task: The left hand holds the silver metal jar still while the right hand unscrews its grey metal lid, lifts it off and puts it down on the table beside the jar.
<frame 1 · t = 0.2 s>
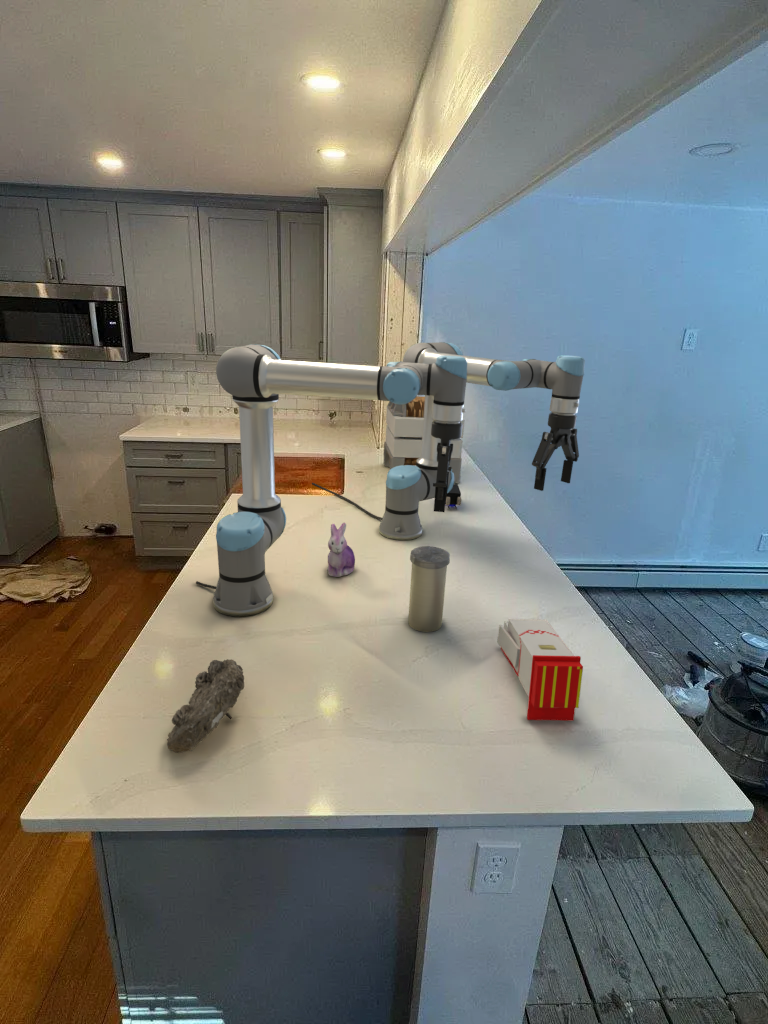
left hand: (440, 502, 147), 28 cm above the counter, tool pointing down, fingers open, 13 cm apart
right hand: (552, 485, 166), 28 cm above the counter, tool pointing down, fingers open, 13 cm apart
toy: (530, 678, 124), on the counter
fossil: (212, 717, 108), on the counter
jar: (424, 623, 144), on the counter
white wooden box: (419, 473, 275), on the counter
figurine: (340, 571, 170), on the counter
figurine character: (451, 505, 231), on the counter
feather: (271, 520, 207), on the counter
lid: (430, 555, 137), point 19 cm above the counter, screwed on, not yet turned
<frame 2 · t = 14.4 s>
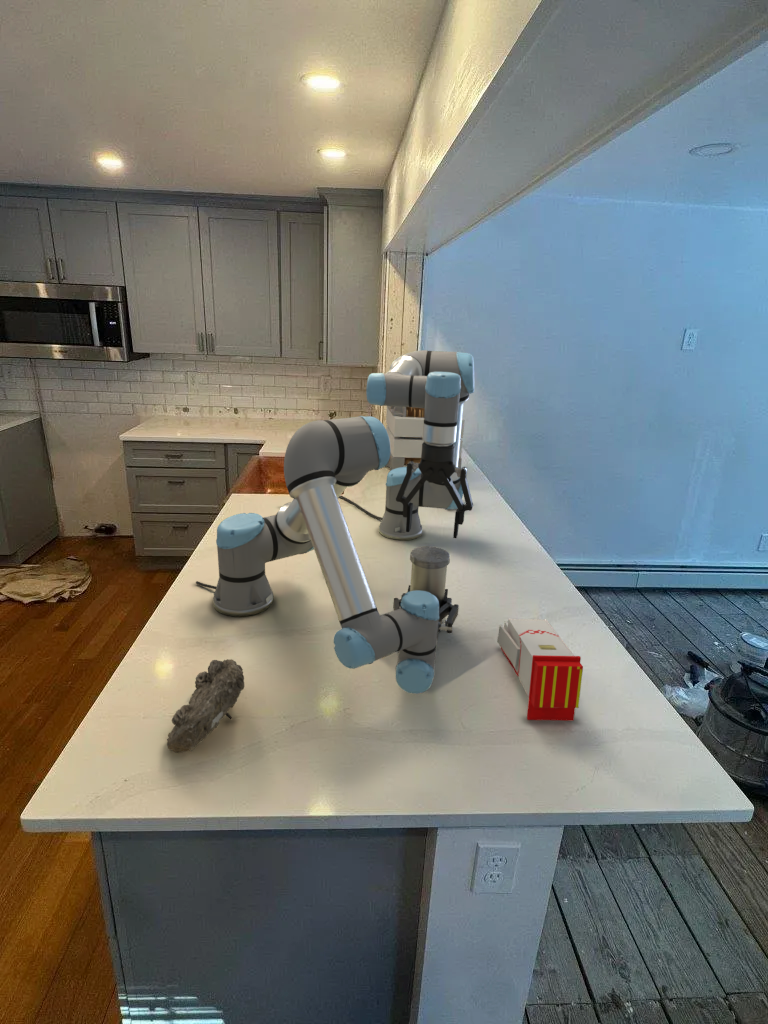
left hand: (428, 591, 146), 6 cm above the counter, tool horizontal, fingers closed on jar, 9 cm apart
right hand: (431, 533, 136), 25 cm above the counter, tool pointing down, fingers open, 11 cm apart
jar: (424, 623, 144), on the counter, touching left hand
everything else where it was.
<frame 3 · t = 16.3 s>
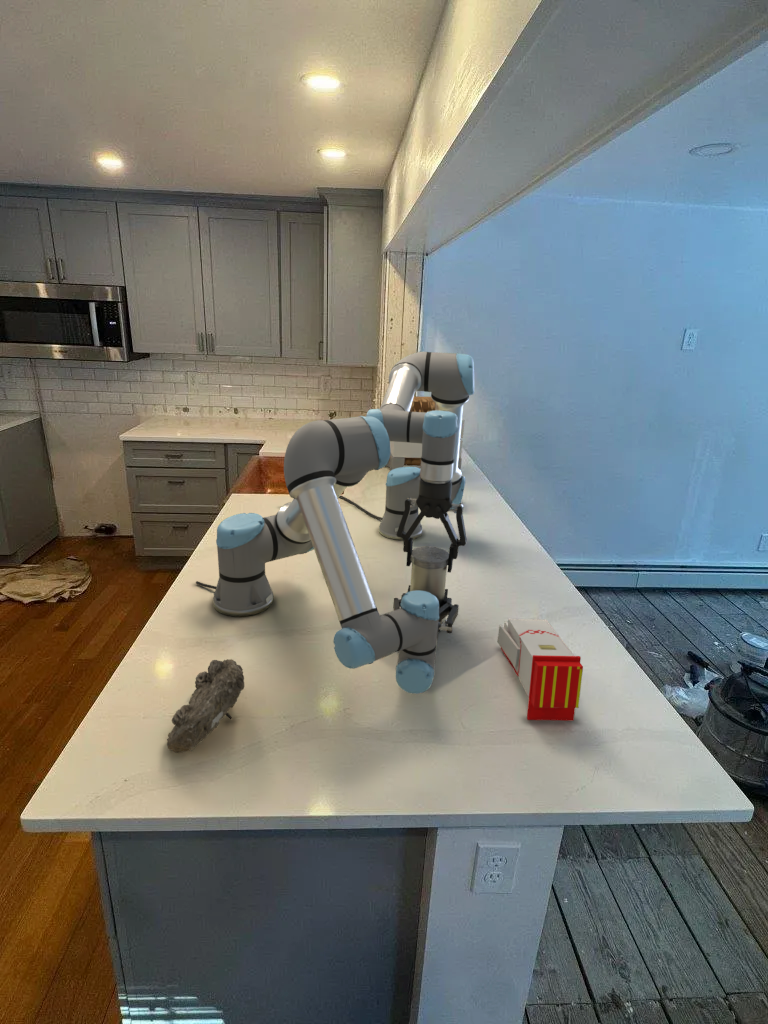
left hand: (428, 591, 146), 6 cm above the counter, tool horizontal, fingers closed on jar, 9 cm apart
right hand: (429, 567, 139), 16 cm above the counter, tool pointing down, fingers closed on lid, 9 cm apart
jar: (424, 623, 144), on the counter, touching left hand
lid: (430, 555, 137), point 19 cm above the counter, screwed on, not yet turned, touching right hand
everything else where it was.
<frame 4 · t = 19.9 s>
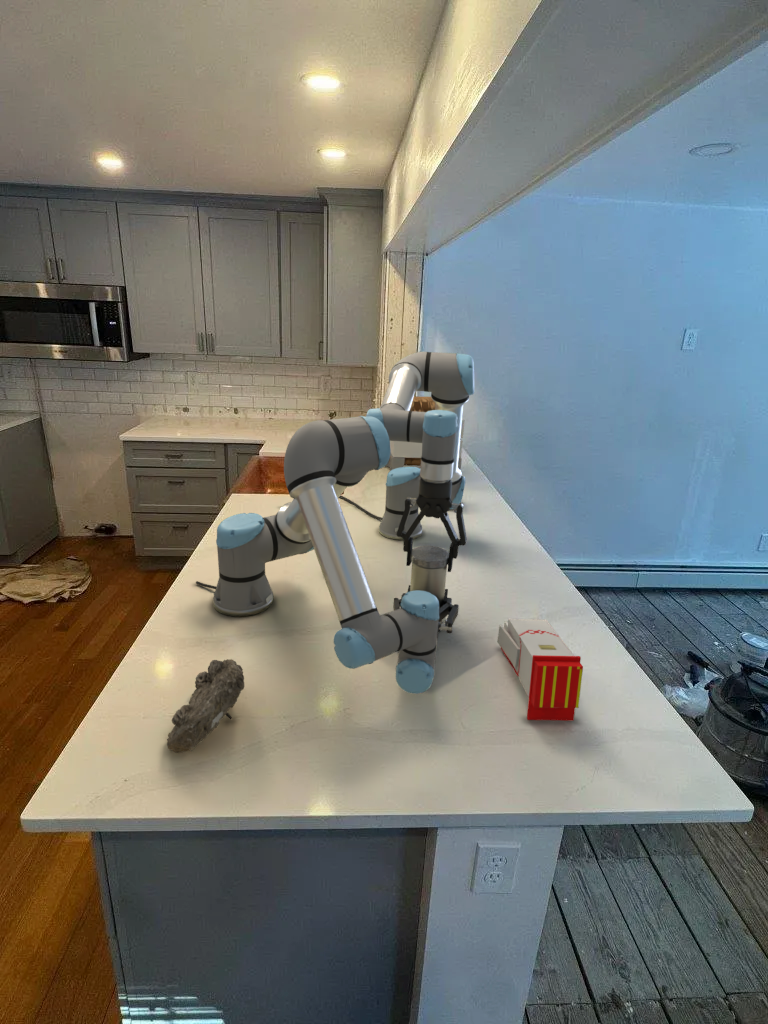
left hand: (428, 591, 146), 6 cm above the counter, tool horizontal, fingers closed on jar, 9 cm apart
right hand: (429, 566, 139), 16 cm above the counter, tool pointing down, fingers closed on lid, 9 cm apart
jar: (424, 623, 144), on the counter, touching left hand
lid: (430, 554, 137), point 19 cm above the counter, turned 125° so far, risen 0.1 cm, still on its thread, touching right hand
everything else where it was.
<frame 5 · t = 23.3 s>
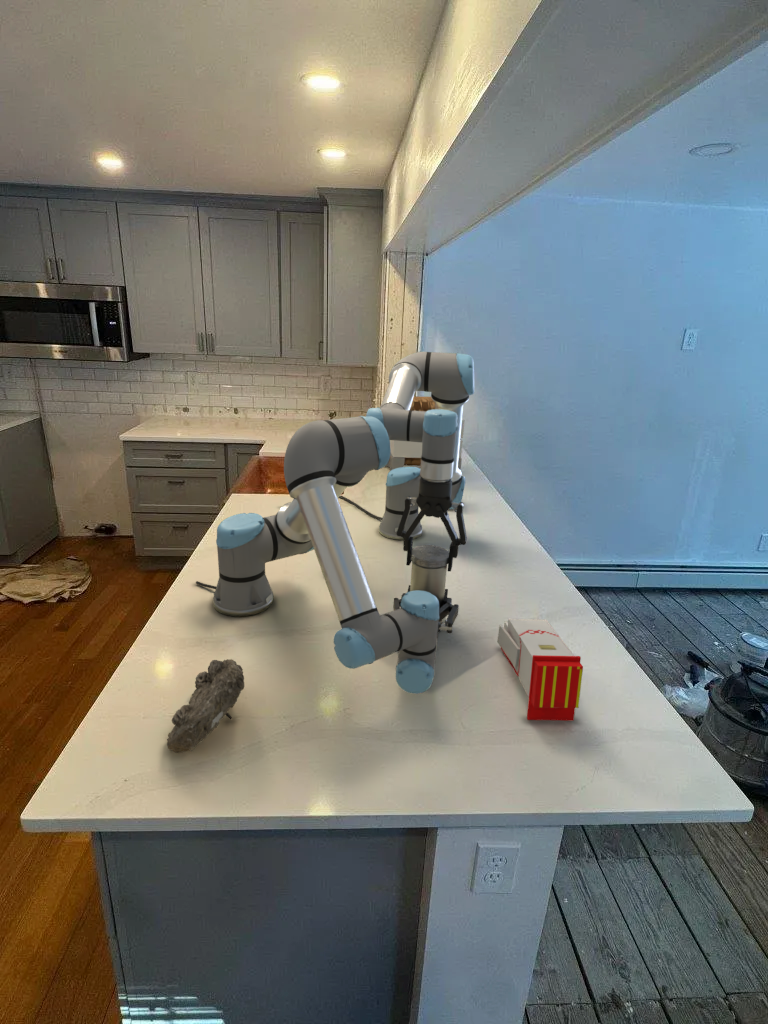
left hand: (428, 591, 146), 6 cm above the counter, tool horizontal, fingers closed on jar, 9 cm apart
right hand: (429, 566, 138), 16 cm above the counter, tool pointing down, fingers closed on lid, 9 cm apart
jar: (424, 623, 144), on the counter, touching left hand
lid: (430, 554, 137), point 19 cm above the counter, turned 250° so far, risen 0.3 cm, still on its thread, touching right hand
everything else where it was.
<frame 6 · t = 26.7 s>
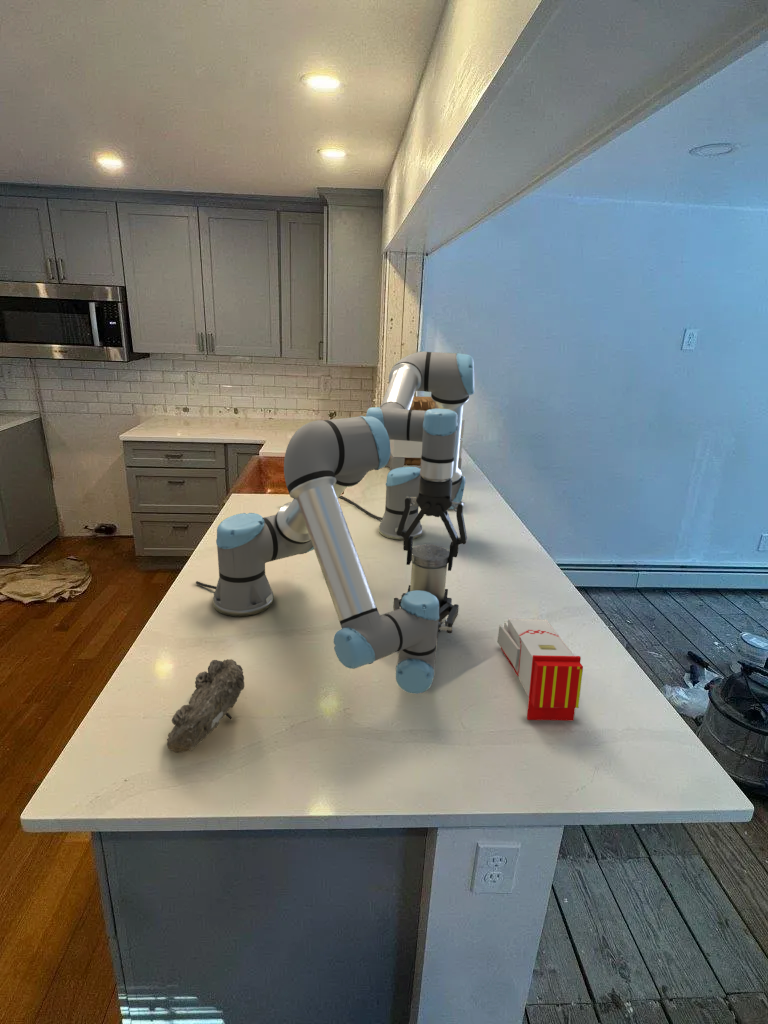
left hand: (428, 591, 146), 6 cm above the counter, tool horizontal, fingers closed on jar, 9 cm apart
right hand: (429, 565, 138), 16 cm above the counter, tool pointing down, fingers closed on lid, 9 cm apart
jar: (424, 623, 144), on the counter, touching left hand
lid: (430, 553, 137), point 19 cm above the counter, turned 375° so far, risen 0.4 cm, still on its thread, touching right hand
everything else where it was.
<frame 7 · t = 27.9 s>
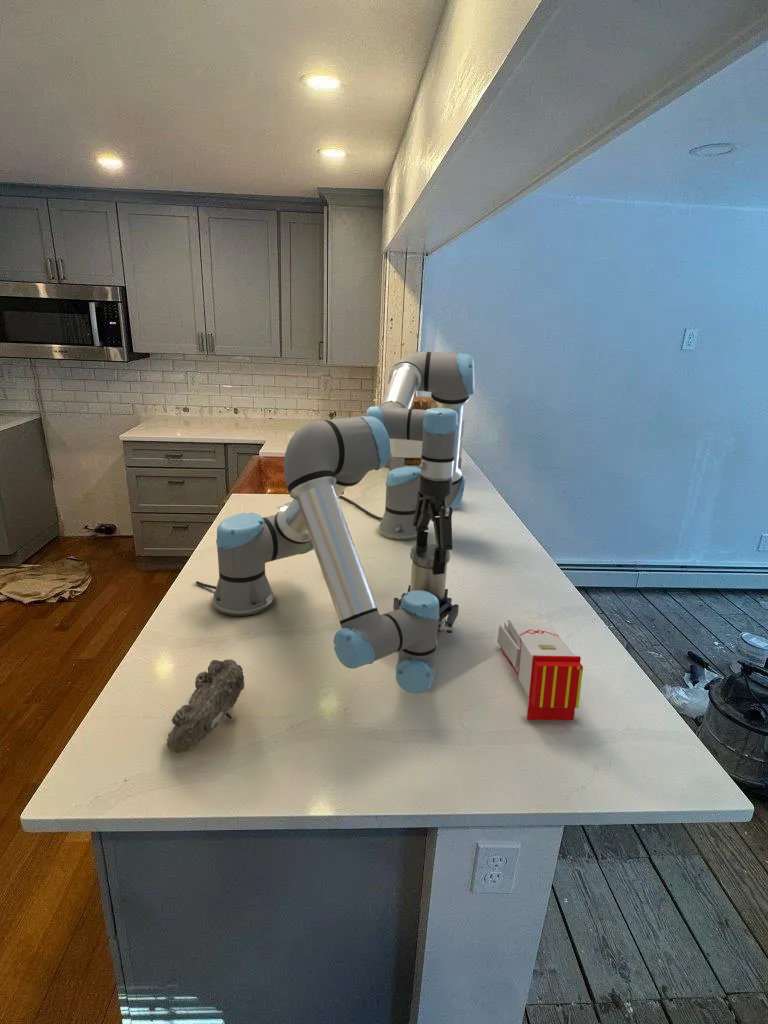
left hand: (428, 591, 146), 6 cm above the counter, tool horizontal, fingers closed on jar, 9 cm apart
right hand: (429, 564, 138), 16 cm above the counter, tool pointing down, fingers closed on lid, 9 cm apart
jar: (424, 623, 144), on the counter, touching left hand
lid: (430, 552, 137), point 19 cm above the counter, off its thread, touching right hand
everything else where it was.
when the right hand's fingers open (0 cm above the counter, at t = 33.2 s): lid stays where it is, point 1 cm above the counter.
when the left hand's fingers open (6 cm above the counter, at t = 34.8 s): jar stays where it is, on the counter.
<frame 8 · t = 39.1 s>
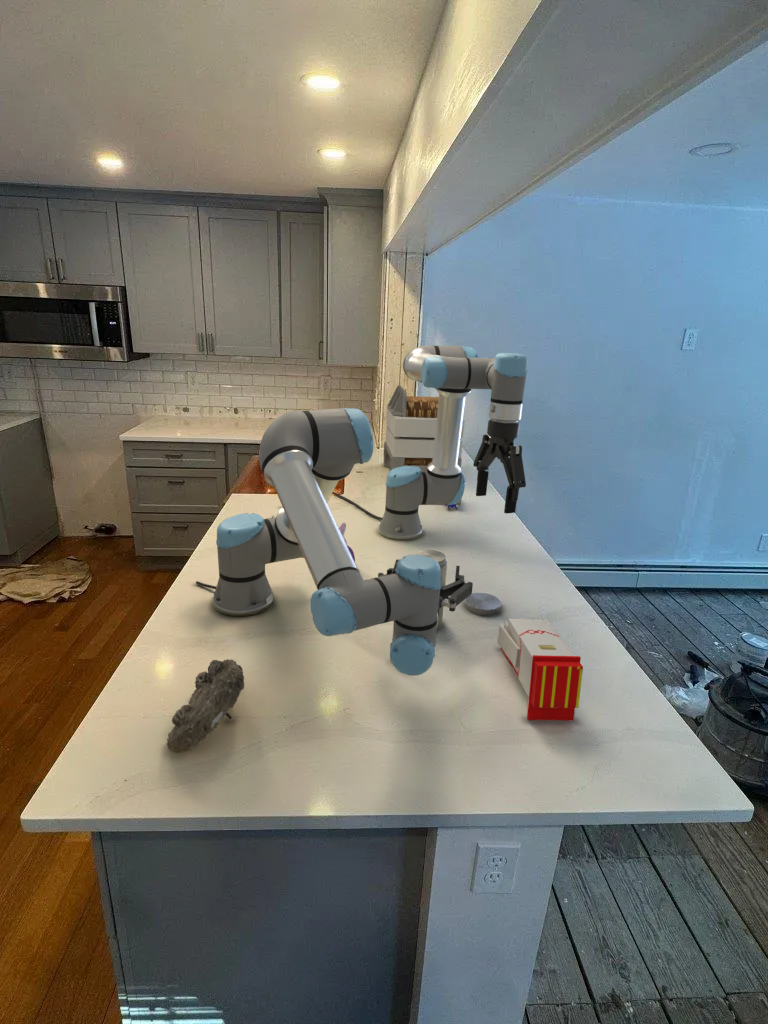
left hand: (427, 567, 128), 20 cm above the counter, tool horizontal, fingers open, 13 cm apart
right hand: (494, 503, 143), 29 cm above the counter, tool pointing down, fingers open, 13 cm apart
jar: (424, 623, 144), on the counter
lid: (483, 602, 153), point 1 cm above the counter, off its thread
everything else where it was.
at the end: lid came off its thread; lid point 1.4 cm above the counter; the left hand is holding nothing; the right hand is holding nothing; jar tilted 0°; jar moved 0.0 cm from its start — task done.
